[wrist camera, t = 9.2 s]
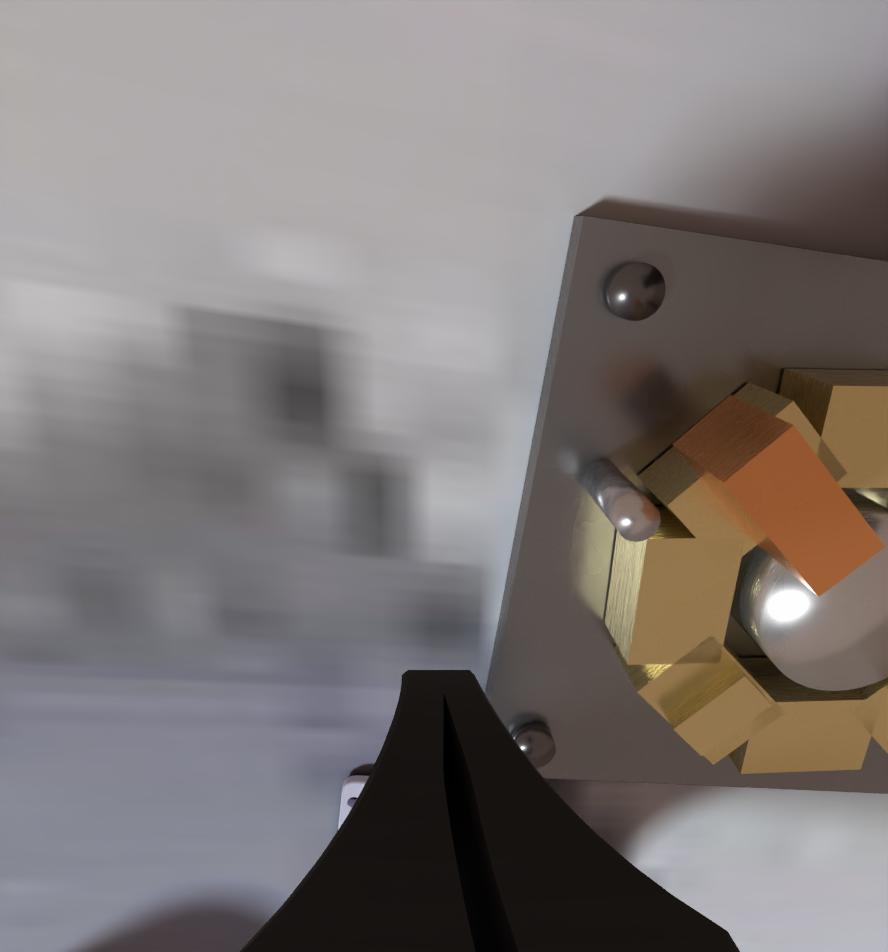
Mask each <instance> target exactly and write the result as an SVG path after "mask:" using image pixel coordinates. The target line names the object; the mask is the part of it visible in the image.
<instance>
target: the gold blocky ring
mask: <svg viewBox="0 0 888 952" xmlns="http://www.w3.org/2000/svg"><path fill="white" fill-rule="evenodd" d="M672 445H673V447H672V448H671V449H669V450H668V451H667V452H666V453H665V454H664V455H662V456H661V457H660V458H659V459H658V460H656V461H655V462H654V463H653V464H652V465H651V466H649V467H648V468H647V469H646V470H645V471H643V472H642V473H641V474H640V475H639V476H638V477H639V478H640V480H641V481H642V482H643V483H644V484H645V485H646V486H647V487H648V488H649V490H650V491H651V492H652V493H653V494H654V495H655V496H656V497H657V499H658V500H659V501H660V502H661V503H662V504H663V505H664V506H665V507H656V508H657V509H658V511H659V513H660V525H659V528H658V530H657V531H656V532H655V534H654V535H653V536H651V537H650V538H648V539H646V540H644V541H641V542H631V541H628V540H626V539H624V538H623V537H622V536H621V535H620V534H619V532H618V531H617V535H616V542H615V550H614V557H613V564H612V572H611V579H610V587H609V594H608V602H607V609H606V616H605V624H606V626H607V628H608V630H609V631H610V633H611V635H612V637H613V639H614V641H615V642H616V644H617V645H616V646H615V647H614V650H615V652H616V654H617V656H618V658H619V660H620V661H621V663H622V665H623V667H624V669H625V671H626V673H627V674H628V676H629V678H630V680H631V682H632V684H633V686H634V687H635V689H636V691H637V693H638V694H640V695H641V696H642V697H643V698H644V699H645V700H646V701H647V702H648V703H649V704H650V705H651V706H652V707H653V708H654V709H655V710H656V711H657V712H658V713H659V714H661V715H662V716H663V717H664V718H665V719H666V720H667V721H668V722H669V723H670V724H671V726H672V728H673V730H674V731H675V732H677V733H678V734H679V735H680V736H681V737H682V738H683V739H684V740H685V741H686V742H687V743H688V744H689V745H690V746H691V747H692V748H693V749H694V750H695V751H696V752H698V753H699V754H700V755H701V756H703V755H704V756H705V757H706V758H707V759H708V760H709V761H710V762H711V763H712V764H713V765H714V764H715V763H717V762H718V761H720V760H721V759H722V758H724V757H725V756H726V755H729V757H730V758H731V760H732V761H733V763H734V765H735V766H736V768H737V769H738V771H739V772H740V774H751V773H778V772H806V771H833V770H860V769H861V767H862V764H863V761H864V758H865V755H866V751H867V748H868V745H869V742H870V739H871V737H872V738H873V739H874V740H875V741H876V742H877V743H878V744H879V745H880V746H881V747H882V748H883V749H884V750H885V752H886V753H887V754H888V677H887V678H885V679H883V680H881V681H878V682H876V683H873V684H870V685H867V686H864V687H860V688H855V689H851V690H841V691H826V690H818V689H813V688H809V687H806V686H803V685H801V684H798V683H796V682H795V681H793V680H791V679H790V678H788V677H787V676H786V675H784V674H783V673H782V672H781V671H780V670H779V669H778V668H777V667H776V666H775V664H774V663H773V662H772V661H771V660H770V659H769V658H739V657H738V656H737V655H736V654H735V653H734V652H733V651H732V650H731V649H730V647H729V646H728V645H727V644H726V643H725V642H724V639H725V634H726V629H727V624H728V620H729V615H730V610H731V605H732V601H733V596H734V591H735V586H736V581H737V577H738V572H739V567H740V562H741V558H742V556H744V555H745V554H746V553H747V552H749V551H750V550H751V549H753V548H754V547H755V546H756V545H758V546H759V547H761V548H762V549H763V550H764V551H765V552H767V553H768V554H769V555H770V556H771V557H772V558H774V559H775V560H776V561H777V562H778V563H779V564H781V565H782V566H783V567H784V568H785V569H787V570H788V571H789V572H790V573H791V574H792V575H794V576H795V577H796V578H797V579H798V580H799V581H801V582H802V583H803V584H804V585H805V586H807V587H808V588H809V589H810V590H811V591H812V592H814V593H815V594H816V595H817V596H818V597H819V596H821V595H822V594H823V593H825V592H826V591H827V590H829V589H830V588H831V587H833V586H834V585H835V584H837V583H838V582H839V581H841V580H842V579H843V578H845V577H846V576H847V575H849V574H850V573H851V572H853V571H854V570H855V569H857V568H858V567H859V566H861V565H862V564H863V563H865V562H866V561H867V560H869V559H870V558H871V557H873V556H874V555H875V554H877V553H878V552H879V551H881V550H882V549H883V548H884V547H885V545H884V544H883V543H882V541H881V540H880V539H879V537H878V536H877V535H876V533H875V532H874V531H873V529H872V528H871V527H870V525H869V524H868V523H867V522H866V520H865V519H864V518H863V516H862V515H861V514H860V512H859V511H858V510H857V508H856V507H855V506H854V504H853V503H852V502H851V500H850V499H849V498H848V496H847V495H846V494H845V492H844V491H843V490H842V488H888V370H834V369H784V373H783V378H782V382H781V387H780V392H779V395H778V394H776V393H774V392H771V391H769V390H766V389H764V388H762V387H759V386H757V385H754V384H752V383H750V382H749V383H747V384H746V385H745V386H744V387H743V388H742V389H740V390H739V391H738V392H737V393H736V394H734V395H733V396H731V395H730V396H728V397H727V398H726V399H725V400H724V401H723V402H721V403H720V404H719V405H718V406H717V407H716V408H714V409H713V410H712V411H711V412H710V413H708V414H707V415H706V416H705V417H704V418H703V419H701V420H700V421H699V422H698V423H697V424H695V425H694V426H693V427H692V428H691V429H690V430H688V431H687V432H686V433H685V434H684V435H682V436H681V437H680V438H679V439H678V440H677V441H675V442H674V443H673V444H672Z"/></svg>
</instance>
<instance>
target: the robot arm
mask: <svg viewBox="0 0 888 952" xmlns="http://www.w3.org/2000/svg"><path fill="white" fill-rule="evenodd" d="M352 797H357V799H350V798H352ZM240 952H740V951H739V949H738V948H737V946H736V945H735V943H734V941H733V940H732V938H731V936H730V935H729V933H728V932H727V931H726V930H725V929H723V928H722V927H720V926H719V925H717V924H716V923H714V922H712V921H711V920H709V919H708V918H706V917H705V916H703V915H702V914H700V913H699V912H697V911H696V910H694V909H693V908H691V907H690V906H688V905H687V904H685V903H684V902H682V901H681V900H679V899H677V898H676V897H674V896H673V895H672V894H670V893H669V892H667V891H666V890H665V889H663V888H662V887H661V886H659V885H658V884H657V883H655V882H654V881H653V880H651V879H650V878H649V877H647V876H646V875H645V874H644V873H642V872H641V871H640V870H638V869H637V868H636V867H634V866H633V865H632V864H631V863H630V862H628V861H627V860H626V859H625V858H624V857H623V856H621V855H620V854H619V853H618V852H617V851H616V850H615V849H613V848H612V847H611V846H610V845H609V844H608V843H606V842H605V841H604V840H603V839H602V838H601V837H600V836H598V835H597V834H596V833H595V832H594V831H593V830H592V829H591V828H590V827H589V826H588V825H587V824H586V823H585V822H584V821H583V820H582V819H581V818H580V817H579V816H578V815H577V814H576V813H575V812H574V811H573V810H572V809H571V808H570V807H569V806H568V805H567V804H566V803H565V802H564V801H563V800H562V798H561V797H560V796H559V795H558V794H557V793H556V792H555V791H554V789H553V788H552V787H551V786H550V785H549V784H548V782H547V781H546V780H545V779H544V778H543V777H542V775H541V774H540V773H539V772H538V770H537V769H536V768H535V767H534V765H533V764H532V763H531V762H530V760H529V759H528V758H527V756H526V755H525V754H524V752H523V751H522V750H521V748H520V747H519V746H518V744H517V743H516V741H515V740H514V738H513V737H512V736H511V734H510V733H509V731H508V730H507V729H506V727H505V726H504V724H503V723H502V721H501V720H500V718H499V717H498V715H497V713H496V712H495V710H494V709H493V707H492V705H491V704H490V702H489V701H488V699H487V697H486V695H485V694H484V692H483V690H482V688H481V687H480V685H479V683H478V681H477V679H476V677H475V675H474V674H473V673H472V672H471V671H470V670H408V671H406V672H405V673H404V674H403V675H402V685H401V692H400V697H399V701H398V705H397V708H396V711H395V715H394V718H393V721H392V723H391V726H390V729H389V732H388V734H387V737H386V740H385V742H384V745H383V747H382V750H381V752H380V754H379V756H378V758H377V760H376V762H375V765H374V767H373V769H372V771H371V773H370V775H369V776H361V775H355V776H350V777H348V778H347V779H346V780H345V781H344V783H343V787H342V796H341V806H340V815H339V825H338V831H337V833H336V834H335V836H334V837H333V839H332V841H331V842H330V844H329V845H328V847H327V848H326V849H325V851H324V852H323V854H322V855H321V857H320V858H319V859H318V861H317V862H316V863H315V865H314V866H313V867H312V869H311V870H310V871H309V872H308V874H307V875H306V876H305V878H304V879H303V880H302V881H301V883H300V884H299V885H298V886H297V888H296V889H295V890H294V892H293V893H292V894H291V895H290V897H289V898H288V899H287V900H286V902H285V903H284V904H283V905H282V906H281V907H280V909H279V910H278V911H277V912H276V913H275V914H274V915H273V916H272V917H271V919H270V920H269V921H268V922H267V923H266V924H265V925H264V926H263V927H262V928H261V929H260V930H259V932H258V933H257V934H256V935H255V936H254V937H253V938H252V939H251V940H250V941H249V942H248V944H247V945H246V946H245V947H244V948H243V949H242V950H241V951H240Z"/></svg>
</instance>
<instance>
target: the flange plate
mask: <svg viewBox="0 0 888 952" xmlns="http://www.w3.org/2000/svg"><path fill="white" fill-rule="evenodd" d="M784 369H834V370H888V261H881V260H875V259H868V258H861V257H855V256H848V255H841V254H835V253H828V252H822V251H815V250H808V249H802V248H795V247H788V246H782V245H775V244H768V243H762V242H755V241H748V240H742V239H735V238H728V237H722V236H715V235H709V234H702V233H695V232H689V231H682V230H675V229H669V228H662V227H655V226H649V225H642V224H635V223H629V222H622V221H615V220H609V219H602V218H596V217H589V216H574V221H573V226H572V232H571V237H570V243H569V248H568V253H567V259H566V264H565V269H564V275H563V280H562V285H561V291H560V296H559V301H558V307H557V312H556V317H555V323H554V328H553V333H552V339H551V344H550V350H549V355H548V360H547V366H546V371H545V376H544V382H543V387H542V392H541V398H540V403H539V408H538V414H537V419H536V424H535V430H534V435H533V440H532V446H531V451H530V457H529V462H528V467H527V473H526V478H525V483H524V489H523V494H522V499H521V505H520V510H519V515H518V521H517V526H516V531H515V537H514V542H513V547H512V553H511V558H510V564H509V569H508V574H507V580H506V585H505V590H504V596H503V601H502V606H501V612H500V617H499V622H498V628H497V633H496V638H495V644H494V649H493V654H492V660H491V665H490V671H489V676H488V681H487V687H486V692H485V695H486V697H487V699H488V701H489V702H490V704H491V705H492V707H493V709H494V710H495V712H496V713H497V715H498V717H499V718H500V720H501V721H502V723H503V724H504V726H505V727H506V729H507V730H508V731H509V733H510V734H511V736H512V737H513V738H514V740H515V741H516V743H517V744H518V746H519V747H520V748H521V750H522V751H523V752H524V754H525V755H526V756H527V758H528V759H529V760H530V762H531V763H532V764H533V765H534V767H535V768H536V769H537V770H538V772H539V773H540V774H541V775H542V777H543V778H550V779H573V780H595V781H617V782H640V783H662V784H684V785H707V786H729V787H751V788H774V789H796V790H818V791H841V792H863V793H885V794H888V754H887V753H886V752H885V750H884V749H883V748H882V747H881V746H880V745H879V744H878V743H877V742H876V741H875V740H874V739H873V738H872V737H871V739H870V742H869V745H868V748H867V751H866V755H865V758H864V761H863V764H862V767H861V769H860V770H833V771H806V772H778V773H751V774H740V772H739V771H738V769H737V768H736V766H735V765H734V763H733V761H732V760H731V758H730V757H729V755H726V756H725V757H724V758H722V759H721V760H720V761H718V762H717V763H715V764H714V765H713V764H712V763H711V762H710V761H709V760H708V759H707V758H706V757H705V756H704V755H703V756H701V755H700V754H699V753H698V752H696V751H695V750H694V749H693V748H692V747H691V746H690V745H689V744H688V743H687V742H686V741H685V740H684V739H683V738H682V737H681V736H680V735H679V734H678V733H677V732H675V731H674V730H673V728H672V726H671V724H670V723H669V722H668V721H667V720H666V719H665V718H664V717H663V716H662V715H661V714H659V713H658V712H657V711H656V710H655V709H654V708H653V707H652V706H651V705H650V704H649V703H648V702H647V701H646V700H645V699H644V698H643V697H642V696H641V695H640V694H638V693H637V691H636V689H635V687H634V686H633V684H632V682H631V680H630V678H629V676H628V674H627V673H626V671H625V669H624V667H623V665H622V663H621V661H620V660H619V658H618V656H617V654H616V652H615V650H614V647H615V646H616V645H617V644H616V642H615V641H614V639H613V637H612V635H611V633H610V631H609V630H608V628H607V626H606V624H605V616H606V609H607V602H608V594H609V587H610V579H611V572H612V564H613V557H614V550H615V542H616V535H617V531H618V532H619V534H620V535H621V536H622V537H623V538H624V539H626V540H628V541H631V542H641V541H644V540H646V539H648V538H650V537H651V536H653V535H654V534H655V532H656V531H657V530H658V528H659V525H660V513H659V511H658V509H657V508H656V507H665V506H664V505H663V504H662V503H661V502H660V501H659V500H658V499H657V497H656V496H655V495H654V494H653V493H652V492H651V491H650V490H649V488H648V487H647V486H646V485H645V484H644V483H643V482H642V481H641V480H640V478H639V477H638V476H639V475H640V474H641V473H642V472H643V471H645V470H646V469H647V468H648V467H649V466H651V465H652V464H653V463H654V462H655V461H656V460H658V459H659V458H660V457H661V456H662V455H664V454H665V453H666V452H667V451H668V450H669V449H671V448H672V447H673V445H672V444H673V443H674V442H675V441H677V440H678V439H679V438H680V437H681V436H682V435H684V434H685V433H686V432H687V431H688V430H690V429H691V428H692V427H693V426H694V425H695V424H697V423H698V422H699V421H700V420H701V419H703V418H704V417H705V416H706V415H707V414H708V413H710V412H711V411H712V410H713V409H714V408H716V407H717V406H718V405H719V404H720V403H721V402H723V401H724V400H725V399H726V398H727V397H728V396H730V395H731V396H733V395H734V394H736V393H737V392H738V391H739V390H740V389H742V388H743V387H744V386H745V385H746V384H747V383H749V382H750V383H752V384H754V385H757V386H759V387H762V388H764V389H766V390H769V391H771V392H774V393H776V394H778V395H779V392H780V387H781V382H782V378H783V373H784ZM842 490H843V491H844V492H845V494H846V495H847V496H848V498H849V499H850V500H851V502H852V503H853V504H854V506H855V507H856V508H857V510H858V511H859V512H860V514H861V515H862V516H863V518H864V519H865V520H866V522H867V523H868V524H869V525H870V527H871V528H872V529H873V531H874V532H875V533H876V535H877V536H878V537H879V539H880V540H881V541H882V543H883V544H884V545H885V547H884V548H883V549H882V550H881V551H879V552H878V553H877V554H875V555H874V556H873V557H871V558H870V559H869V560H867V561H866V562H865V563H863V564H862V565H861V566H859V567H858V568H857V569H855V570H854V571H853V572H851V573H850V574H849V575H847V576H846V577H845V578H843V579H842V580H841V581H839V582H838V583H837V584H835V585H834V586H833V587H831V588H830V589H829V590H827V591H826V592H825V593H823V594H822V595H821V596H819V597H818V596H817V595H816V594H815V593H814V592H812V591H811V590H810V589H809V588H808V587H807V586H805V585H804V584H803V583H802V582H801V581H799V580H798V579H797V578H796V577H795V576H794V575H792V574H791V573H790V572H789V571H788V570H787V569H785V568H784V567H783V566H782V565H781V564H779V563H778V562H777V561H776V560H775V559H774V558H772V557H771V556H770V555H769V554H768V553H767V552H765V551H764V550H763V549H762V548H761V547H759V546H758V545H756V546H755V547H754V548H753V549H751V550H750V551H749V552H747V553H746V554H745V555H744V556H742V558H741V562H740V567H739V572H738V577H737V581H736V586H735V591H734V596H733V601H732V605H731V610H730V615H729V620H728V624H727V629H726V634H725V639H724V642H725V643H726V644H727V645H728V646H729V647H730V649H731V650H732V651H733V652H734V653H735V654H736V655H737V656H738V657H739V658H769V659H770V660H771V661H772V662H773V663H774V664H775V666H776V667H777V668H778V669H779V670H780V671H781V672H782V673H783V674H784V675H786V676H787V677H788V678H790V679H791V680H793V681H795V682H796V683H798V684H801V685H803V686H806V687H809V688H813V689H818V690H826V691H841V690H851V689H855V688H860V687H864V686H867V685H870V684H873V683H876V682H878V681H881V680H883V679H885V678H887V677H888V488H842Z"/></svg>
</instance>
